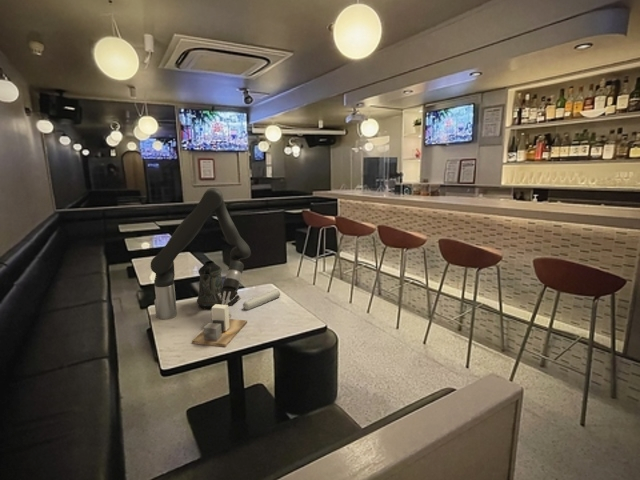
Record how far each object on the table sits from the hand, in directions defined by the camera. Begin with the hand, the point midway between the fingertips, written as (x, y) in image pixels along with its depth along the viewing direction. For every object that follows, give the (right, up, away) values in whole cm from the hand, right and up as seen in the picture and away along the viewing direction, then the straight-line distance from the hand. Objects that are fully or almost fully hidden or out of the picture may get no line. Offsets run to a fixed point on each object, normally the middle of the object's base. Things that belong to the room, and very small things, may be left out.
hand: (222, 313), depth 168 cm
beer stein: (-14, -2, +31) cm, 34 cm away
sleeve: (0, -7, -1) cm, 7 cm away
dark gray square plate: (-1, -7, -4) cm, 8 cm away
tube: (+13, -2, +34) cm, 36 cm away
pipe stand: (-1, -9, -1) cm, 9 cm away
